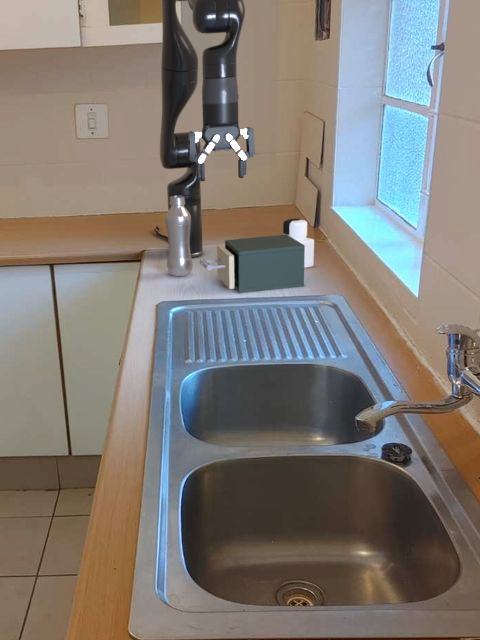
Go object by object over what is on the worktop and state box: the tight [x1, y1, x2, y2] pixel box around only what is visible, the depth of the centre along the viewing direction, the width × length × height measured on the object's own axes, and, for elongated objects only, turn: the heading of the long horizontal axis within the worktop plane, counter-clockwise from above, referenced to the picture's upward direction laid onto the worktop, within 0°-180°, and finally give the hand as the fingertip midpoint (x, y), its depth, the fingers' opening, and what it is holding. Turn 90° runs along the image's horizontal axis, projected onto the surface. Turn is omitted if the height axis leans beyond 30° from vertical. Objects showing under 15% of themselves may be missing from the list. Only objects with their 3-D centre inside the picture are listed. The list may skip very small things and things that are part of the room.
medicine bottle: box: [282, 218, 315, 269], centre depth 193 cm, size 7×7×12 cm
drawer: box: [199, 244, 238, 290], centre depth 181 cm, size 20×12×8 cm, turn 99°
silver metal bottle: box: [164, 196, 194, 277], centre depth 190 cm, size 6×7×20 cm
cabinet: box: [224, 234, 305, 294], centre depth 181 cm, size 16×13×10 cm
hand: (221, 179), depth 164 cm, fingers open, 8 cm apart
